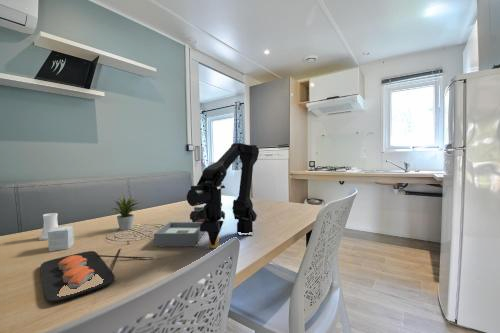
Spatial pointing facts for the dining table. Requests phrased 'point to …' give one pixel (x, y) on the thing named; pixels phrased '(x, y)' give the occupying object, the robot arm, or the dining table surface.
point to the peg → (215, 243)
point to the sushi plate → (75, 273)
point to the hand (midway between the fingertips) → (213, 243)
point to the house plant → (125, 213)
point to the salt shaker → (48, 224)
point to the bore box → (178, 234)
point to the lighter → (198, 209)
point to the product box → (60, 238)
